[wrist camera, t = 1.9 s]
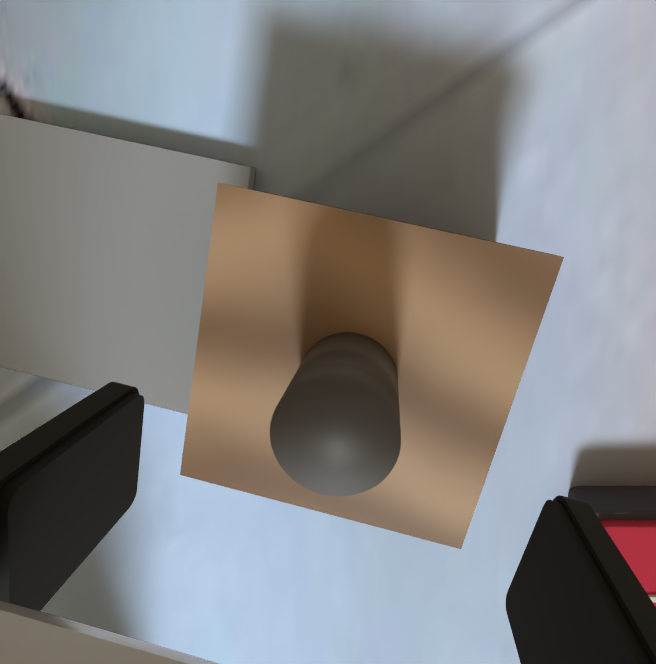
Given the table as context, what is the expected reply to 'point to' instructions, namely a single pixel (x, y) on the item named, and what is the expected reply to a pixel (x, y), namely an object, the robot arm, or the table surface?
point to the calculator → (627, 525)
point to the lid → (358, 361)
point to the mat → (104, 258)
